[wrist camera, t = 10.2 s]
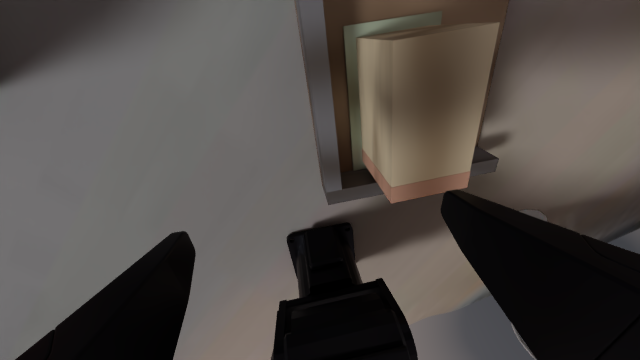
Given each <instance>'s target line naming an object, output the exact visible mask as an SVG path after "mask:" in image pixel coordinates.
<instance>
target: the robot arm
mask: <svg viewBox="0 0 640 360" xmlns="http://www.w3.org/2000/svg"><path fill="white" fill-rule="evenodd" d="M441 214H442V217H443V219H444V220H445V222H446V224H447V226H448V228H449V229H450V231H451V233H452V235H453V237H454V239H455V240H456V242H457V244H458V246H459V247H460V249H461V251H462V252H463V254H464V255H465V257H466V258H467V260H468V261H469V263H470V264H471V266H472V267H473V268H474V270H475V271H476V273H477V274H478V276H479V277H480V278H481V280H482V281H483V283H484V284H485V286H486V287H487V289H488V290H489V291H490V293H491V294H492V296H493V297H494V299H495V300H496V301H497V303H498V304H499V306H500V307H501V308H502V310H503V312H504V313H505V314H506V316H507V317H508V319H509V320H510V321H511V323H512V324H513V326H514V327H515V329H516V330H517V332H518V333H519V335H520V336H521V337H522V339H523V340H524V342H525V343H526V344H527V346H528V348H529V349H530V350H531V352H532V353H533V355H534V356H535V358H536V359H537V360H640V254H638V253H635V252H631V251H628V250H625V249H622V248H620V247H617V246H614V245H611V244H608V243H605V242H602V241H600V240H597V239H594V238H591V237H589V236H586V235H580V234H579V233H577V232H574V231H572V230H569V229H566V228H563V227H561V226H558V225H555V224H552V223H550V222H547V221H544V220H541V219H538V218H536V217H533V216H530V215H527V214H525V213H522V212H519V211H516V210H514V209H511V208H508V207H505V206H502V205H500V204H497V203H494V202H491V201H489V200H486V199H483V198H480V197H478V196H475V195H472V194H469V193H466V192H464V191H461V190H458V189H455V190H448V191H446V192H445V193H444V196H443V201H442V205H441ZM347 227H348V228H347ZM345 228H347V229H345ZM290 239H293V240H290ZM287 244H288V247H289V251H290V255H291V258H292V262H293V265H294V269H295V273H296V276H297V279H298V287H299V298H297V299H293V300H289V301H287V300H283V301H280V303H279V311H277V320H276V330H275V340H274V349H273V353H272V357H271V360H418V358H417V351H416V347H415V343H414V339H413V336H412V333H411V330H410V328H409V325H408V323H407V321H406V318H405V316H404V314H403V313H402V311H401V309H400V307H399V306H398V304H397V302H396V301H395V299H394V297H393V296H392V294H391V292H390V291H389V289H388V287H387V286H386V284H385V282H384V281H383V279H382V278H380V279H376V281H371V282H367V283H362V280H361V277H360V274H359V271H358V268H357V265H356V263H355V253H354V241H353V229H352V226H351V224H350V223H343V224H338V225H333V226H329V227H324V228H319V229H314V230H309V231H304V232H300V233H295V234H290V235H288V236H287ZM194 262H195V248H194V246H193V244H192V242H191V240H190V237H189V235H188V234H187V232H185V231H181V232H175V233H171V234H170V235H169V236H168V237H166V238H165V239H164V240H163V241H161V242H160V243H159V244H158V245H156V246H155V247H154V248H153V249H151V250H150V251H149V252H148V253H147V254H145V255H144V256H143V257H142V258H140V259H139V260H138V261H137V262H135V263H134V264H133V265H132V266H131V267H129V268H128V269H127V270H126V271H124V272H123V273H122V274H121V275H119V276H118V277H117V278H116V279H114V280H113V281H112V282H111V283H110V284H108V285H107V286H106V287H105V288H103V289H102V290H101V291H100V292H98V293H97V294H96V295H95V296H94V297H92V298H91V299H90V300H89V301H87V302H86V303H85V304H84V305H82V306H81V307H80V308H79V309H77V310H76V311H75V312H74V313H73V314H71V315H70V316H69V317H68V318H66V319H65V320H64V321H63V322H61V323H60V324H59V325H58V326H57V327H56V328H55V330H52V331H50V332H49V333H48V334H47V335H45V336H44V337H43V338H42V339H40V340H39V341H38V342H37V343H36V344H34V345H33V346H32V347H30V348H29V349H28V350H27V351H25V352H24V353H23V354H22V355H20V356H19V357H18V358H17V359H15V360H173V357H174V353H175V349H176V346H177V342H178V338H179V334H180V331H181V327H182V323H183V319H184V316H185V312H186V308H187V304H188V300H189V295H190V289H191V282H192V275H193V269H194Z"/></svg>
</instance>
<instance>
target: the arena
mask: <svg viewBox="0 0 640 360" xmlns="http://www.w3.org/2000/svg"><path fill="white" fill-rule="evenodd" d="M508 3H509V0H295V7H296V14H297V20H298V27H299V33H300V40H301V47H302V53H303V60H304V67H305V73H306V80H307V87H308V93H309V100H310V107H311V113H312V120H313V127H314V133H315V140H316V147H317V153H318V160H319V167H320V173H321V180H322V186H323V189H324V192H325V196H326V199H327V202H328V205H331V204H336V203H341V202H346V201H351V200H356V199H361V198H366V197H371V196H376V195H381V194H384V192H383V191H382V189H381V188H380V186H379V185H378V183H377V182H376V180H375V179H374V177H373V176H372V174H371V173H370V172H369V170H368V169H367V167H366V166H365V164H364V163H363V161H362V138H361V120H360V103H359V86H358V68H357V51H356V38H358V37H364V36H370V35H376V34H381V33H387V32H393V31H399V30H405V29H411V28H417V27H422V26H428V25H448V24H472V23H496V22H500V24H499V29H498V34H497V39H496V44H495V49H494V54H493V59H492V64H491V69H490V74H489V79H488V84H487V89H486V94H485V99H484V104H483V109H482V114H481V119H480V124H479V129H478V134H477V139H476V144H475V149H474V154H473V159H472V164H471V169H470V176H469V177H471V176H476V175H481V174H486V173H491V172H495V171H496V167H497V164H498V160H499V158H497V157H495V156H493V155H492V154H490V153H488V152H486V151H485V150H483V149H481V148H479V147H478V141H479V136H480V132H481V127H482V123H483V118H484V113H485V109H486V104H487V100H488V95H489V90H490V86H491V81H492V77H493V72H494V67H495V63H496V58H497V53H498V49H499V44H500V40H501V35H502V30H503V26H504V21H505V17H506V12H507V7H508Z"/></svg>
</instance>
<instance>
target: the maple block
mask: <svg viewBox="0 0 640 360" xmlns="http://www.w3.org/2000/svg"><path fill="white" fill-rule="evenodd" d="M499 24H500V22H496V23H472V24H448V25H428V26H422V27H417V28H411V29H405V30H399V31H393V32H387V33H381V34H376V35H370V36H364V37H358V38H356V51H357V68H358V86H359V103H360V120H361V138H362V161H363V163H364V164H365V166H366V167H367V169H368V170H369V172H370V173H371V174H372V176H373V177H374V179H375V180H376V182H377V183H378V185H379V186H380V188H381V189H382V191H383V192H384V194H385V195H386V197H387V198H388V200H389V201H390V203H391V204H392V203H396V202H401V201H406V200H411V199H415V198H420V197H425V196H429V195H434V194H439V193H444V192H446V191H448V190H455V189H463V188H467V186H468V181H469V176H470V169H471V164H472V159H473V154H474V149H475V144H476V139H477V134H478V129H479V124H480V119H481V114H482V109H483V104H484V99H485V94H486V89H487V84H488V79H489V74H490V69H491V64H492V59H493V54H494V49H495V44H496V39H497V34H498V29H499Z"/></svg>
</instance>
